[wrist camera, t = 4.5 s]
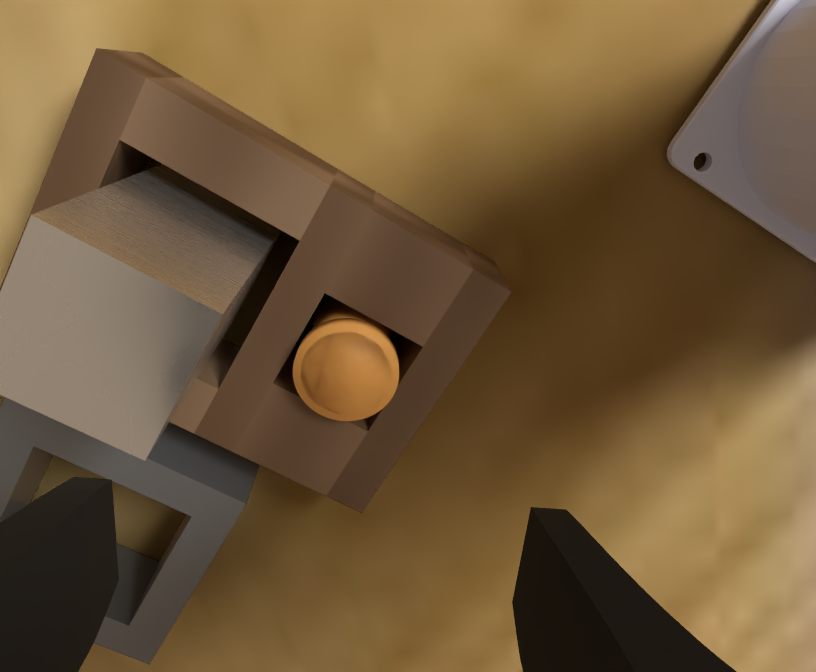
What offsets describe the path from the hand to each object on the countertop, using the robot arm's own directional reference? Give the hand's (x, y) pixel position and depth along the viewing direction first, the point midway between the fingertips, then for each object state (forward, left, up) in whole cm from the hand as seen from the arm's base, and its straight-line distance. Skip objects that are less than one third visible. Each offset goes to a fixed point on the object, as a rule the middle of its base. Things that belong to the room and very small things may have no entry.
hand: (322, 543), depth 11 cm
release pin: (0, 0, -10) cm, 10 cm away
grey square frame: (+4, +9, -10) cm, 14 cm away
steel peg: (+5, 0, -10) cm, 12 cm away
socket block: (+3, 0, -10) cm, 11 cm away
